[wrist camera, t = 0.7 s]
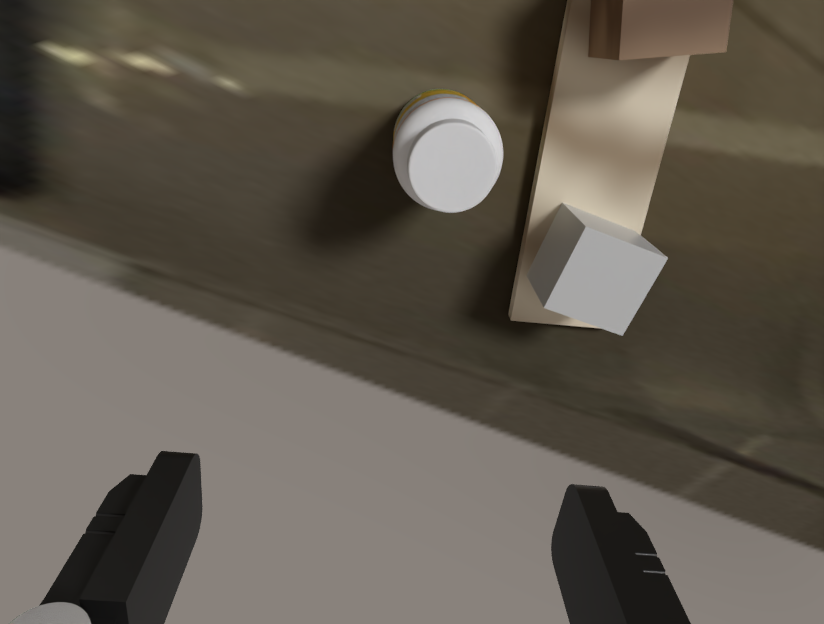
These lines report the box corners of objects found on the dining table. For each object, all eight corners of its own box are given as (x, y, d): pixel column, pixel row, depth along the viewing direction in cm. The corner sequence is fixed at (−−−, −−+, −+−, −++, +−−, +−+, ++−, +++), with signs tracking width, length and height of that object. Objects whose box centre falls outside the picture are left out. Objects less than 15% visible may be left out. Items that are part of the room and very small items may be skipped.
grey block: (562, 202, 36) (585, 226, 31) (634, 230, 37) (668, 258, 32) (526, 275, 38) (543, 307, 33) (596, 300, 39) (622, 335, 34)
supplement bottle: (485, 179, 36) (513, 225, 27) (396, 184, 36) (395, 232, 27) (485, 84, 34) (515, 101, 25) (390, 90, 34) (387, 108, 25)
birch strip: (589, -117, 30) (595, -122, 29) (723, -99, 30) (733, -103, 30) (508, 314, 40) (510, 320, 39) (609, 322, 40) (614, 329, 39)
